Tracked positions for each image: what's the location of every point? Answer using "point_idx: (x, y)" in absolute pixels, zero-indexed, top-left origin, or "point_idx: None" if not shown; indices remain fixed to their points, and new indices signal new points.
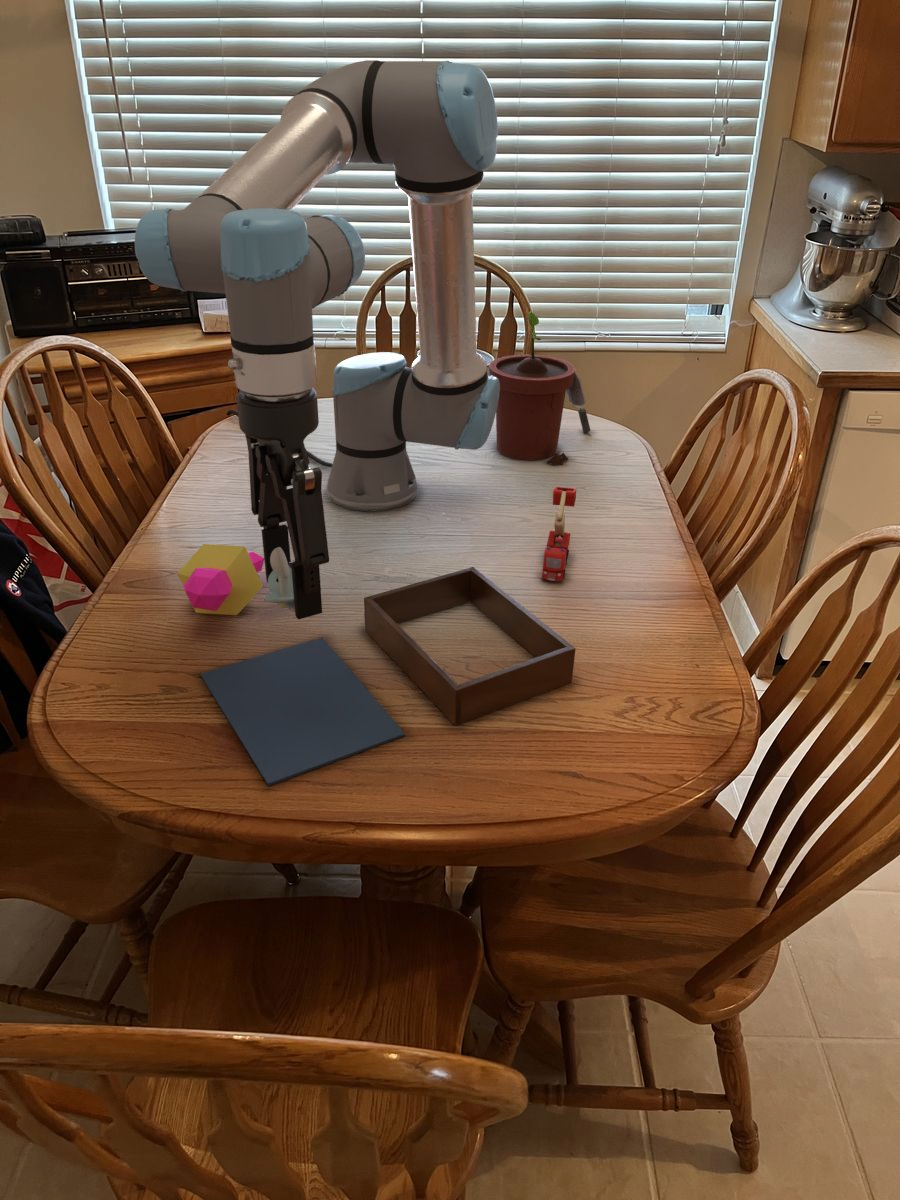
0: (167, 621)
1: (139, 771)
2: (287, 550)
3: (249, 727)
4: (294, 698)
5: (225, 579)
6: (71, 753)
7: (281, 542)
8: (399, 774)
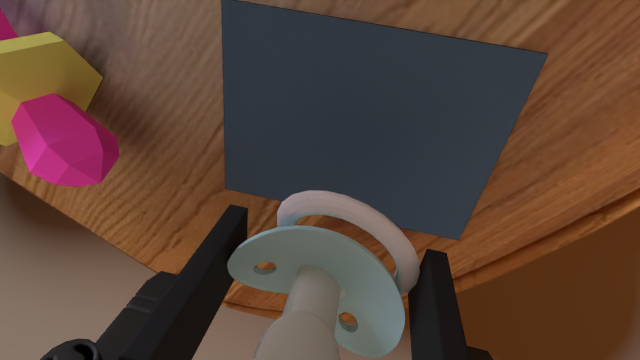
0: None
1: None
2: (204, 282)
3: None
4: (344, 134)
5: (58, 125)
6: (281, 309)
7: (187, 326)
8: (597, 118)
